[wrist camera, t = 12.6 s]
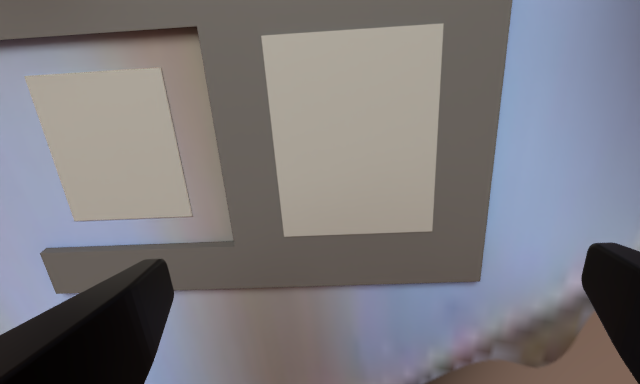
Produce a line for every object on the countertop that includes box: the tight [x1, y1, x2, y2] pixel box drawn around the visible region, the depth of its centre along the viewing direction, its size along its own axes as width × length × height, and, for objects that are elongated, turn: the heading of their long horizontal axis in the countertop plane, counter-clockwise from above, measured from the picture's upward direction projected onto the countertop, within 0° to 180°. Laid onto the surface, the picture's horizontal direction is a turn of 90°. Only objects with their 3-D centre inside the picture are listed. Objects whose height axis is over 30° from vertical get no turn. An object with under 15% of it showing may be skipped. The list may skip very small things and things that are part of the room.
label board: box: [0, 0, 512, 294], centre depth 18 cm, size 22×15×1 cm
